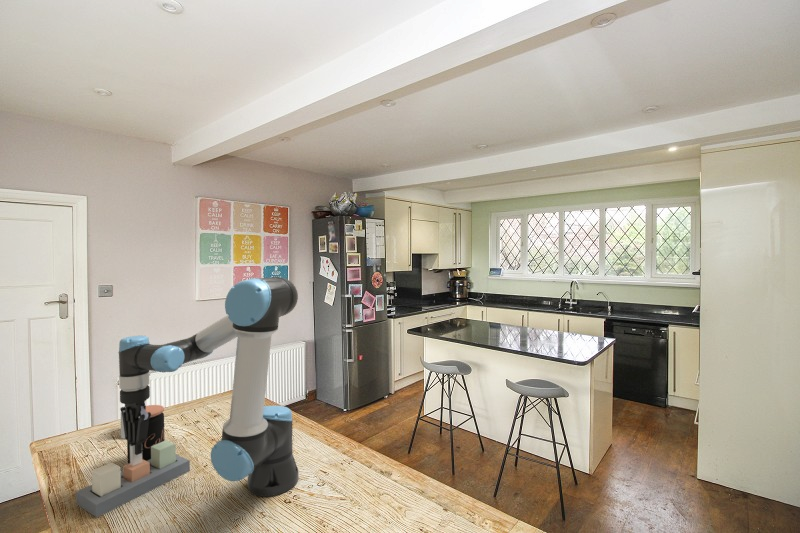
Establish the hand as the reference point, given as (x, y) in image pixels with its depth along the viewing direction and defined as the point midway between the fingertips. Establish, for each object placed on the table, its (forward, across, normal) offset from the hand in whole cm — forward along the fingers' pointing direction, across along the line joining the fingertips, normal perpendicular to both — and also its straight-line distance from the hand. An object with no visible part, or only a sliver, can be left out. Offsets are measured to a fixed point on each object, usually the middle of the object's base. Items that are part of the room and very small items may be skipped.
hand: (136, 463), depth 118 cm
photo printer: (+7, +40, -18) cm, 45 cm away
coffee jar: (+7, +12, -9) cm, 16 cm away
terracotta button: (+7, 0, 0) cm, 7 cm away
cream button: (+4, 0, +8) cm, 9 cm away
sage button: (+4, 0, -8) cm, 9 cm away
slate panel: (+7, 0, 0) cm, 7 cm away
